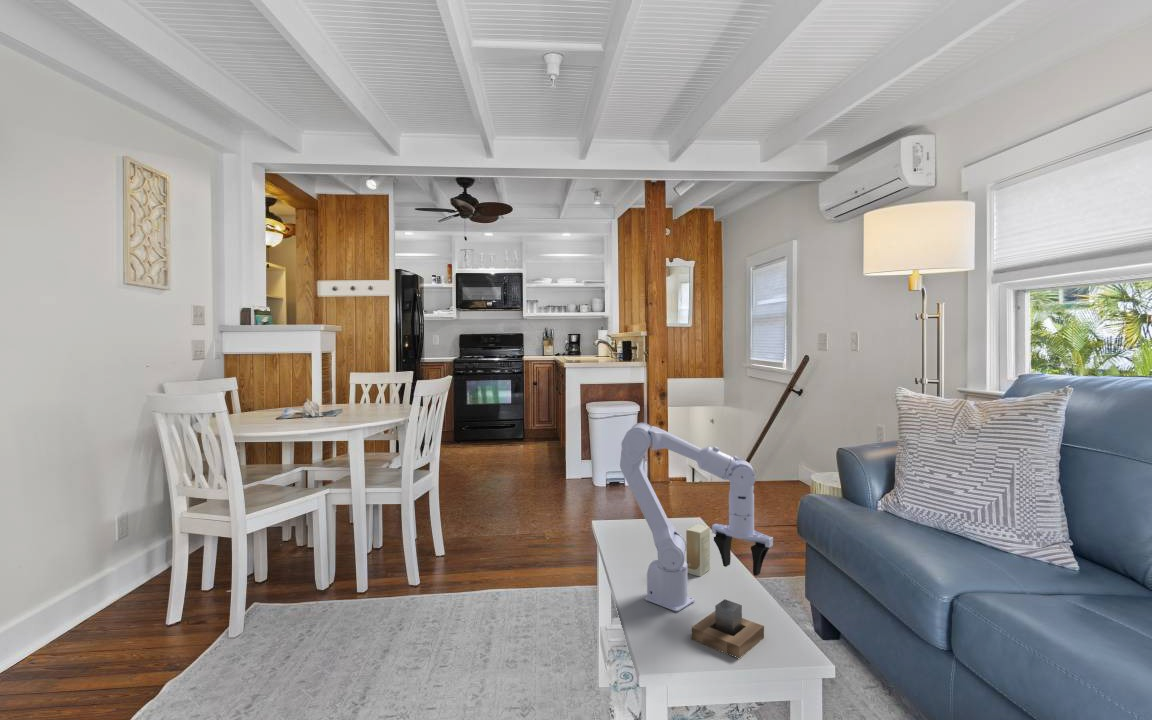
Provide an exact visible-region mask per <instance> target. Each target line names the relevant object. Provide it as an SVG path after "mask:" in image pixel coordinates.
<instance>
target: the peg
mask: <svg viewBox="0 0 1152 720" xmlns="http://www.w3.org/2000/svg"><path fill="white" fill-rule="evenodd" d="M714 607H715V608H714V609H715V610H714V611H715V629H716V630H718V631H721V632H723V633H726V634H728V635H731V636H735V635H736V634H737V633H738V632H740V631H741V630H742V618H743V605H742V604H739V603H737V602H734V601H731V600H728V599H726V598H725V599H723V600H721V601H720V602H719V603H717V604H716V605H714Z"/></svg>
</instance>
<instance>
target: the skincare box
mask: <svg viewBox="0 0 1152 720" xmlns="http://www.w3.org/2000/svg"><path fill="white" fill-rule="evenodd" d="M710 529H711V528H710V526H707V525H702V524H697V523H696V524H693V525H692V526H690V527H688V528H687V529H686V531H685V534H686V536H685V537H686V540H685V541H686V563H687V574H690V575H693V576H695V577H696V576H697V577H702V576H704V575H705V574H706V573H707V572H709V571H710V570H711V547H710V546H711V545H710V544H711V539H710V538H711V533H710V532H711V530H710Z"/></svg>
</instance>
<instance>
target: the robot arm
mask: <svg viewBox="0 0 1152 720" xmlns="http://www.w3.org/2000/svg"><path fill="white" fill-rule="evenodd" d="M620 445H621V449H620V450H621V451H620V452H621V453H620V462H619V467H620V468H619V469H620V470H621V473H622V475H623V476H624V479H625V481H626V482H627V484H628V486H629V489H630V490H631V493H632V495H633V496H634V500H635V501H636V503H637V504H638V508H639V509H640V511H641V513H642V515H643V517H644V519H645V522H646V524H647V525H648V527H649V529H650V531H651V533H652V538H653V543H654V546H655V548H656V551H657V559H655V560H653V561H652V562H650V563H649V565H648V568H647V572H646V596H645V598H644V599H645V601H647V602H650V603H654V604H655V605H657V606H660V607H663V608H666V609H669V610H670V611H673V612H676V613H678V612H679V611H682V609H685V608H686V607H687V606H690V605H691V604H692V603H694V602H695V598H693V597H691V596H688V595H689V594H688V592H689V591H688V590H689V589H688V587H689V586H688V585H689V584H688V583H689V582H688V573H687V560H685V559H686V558H685V553H686V552H687V550H686V540H685V537H684V536H683V535H681V534H680V533H679V532H678V531H677V530H676V527H675V526H674V525H673V524H672V523H671V522H670V520H669V519H668V516H667V515H666V512H665V510H664V508H663V506H662V504H661V502H660V500H659V498H658V496H657V494H656V492H655V490H654V488H653V486H652V484H651V481H650V480H649V478H648V476H647V474H646V472H645V470H644V468H643V466H642V462H643V460H644V457H645V454H646V452H647V451H648V449H649V448H650V446H651V451H657V450H663V449H666V450H668V451H671V452H674V453H676V454H677V455H680V456H684V457H685V458H688V459H690V460H692V461H693V460H694V461H695V462H696V463H697V464H696V465H697V466H698V468H699V470H700V469H701V470H703V471H704V472H707V473H709V474H711V475H713V476H715V477H718V478H720V479H722V480H726V481H727V480H728V481H729V492H728V525H727V524H720V523H714V524H712V525H711V534H713V535H715V536H713V541H714V543H715V545H716V546H717V549H718V551H719V554H720V556H721V561H722V566H723V567H725V568H726V567H728V566H730V565H731V549H732V540H733V539H738V540H741V541H745V542H750V543H753V545H752V546H750V551H751V556H752V574H753V576H755V577H758V576H759V575H760V574H761V571H762V566H763V563H764V560H765V558H766V555H767V553H768V552H769V550H770V549H771V547H773V546H774V537H773V536H769V535H767V534H764V533H761V532H759V531H756V530H755V493H754V490H755V487H754V485H755V482H756V479H757V478H756V475H755V472H754V468H753V466H752V465H751V463H750V462H748V461H746V460H745V459H744V458H739V456H737V455H734V456H731V455H729V454H727V453H724V452H722V451H720V448H719V447H718V446H715V445H714V446H713V447H711V446H705V447H703V448H702V447H698V446H697V445H695V444H693V443H690V442H689V441H686V440H685V439H682V438H681V437H679V436H677V435H675V434H672V433H671V432H668V431H667V430H665V429H662V428H660V427H658V426H655V425H652V426H651V425H650V424H649V423H646V422H638V423H637V422H636V424H634V425H633V426H632V427H631V428H630V429H629V430H627V432H626V434H625V435H624V437H623V439H622V441H621V444H620Z"/></svg>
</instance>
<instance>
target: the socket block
mask: <svg viewBox="0 0 1152 720" xmlns="http://www.w3.org/2000/svg"><path fill="white" fill-rule="evenodd" d="M690 630H691V631H690V632H691V634H690V635H691V640H693V641H696V642H698V643H700V644H703V645H705V646H708V647H709V648H712V649H715V650H717V651H719V650H720V652H721V651H723V652H722V653H724V652H725V653H724V654H726V653H728V654H727V655H729V654H731V655H733V656H736V657H738V658H740V657H741V656H742V655H743V654H745V653H746V652H747V651H748V650H749V651H750V650H752V649H753V648H754V647H755V646H756V645H757V644H758V643H760V642H761V641H762V640H764V638H765V625H762V624H759V623H756V622H754V621H752V620H749V619H745V618H744V617H742V630H741V631H740V632H738V633H737V634H736V635H735V636H731V635H728V634H726V633H723V632H721V631H718V630H716V629H715V610H714V611H713V612H711V613H710V614H708V615H707V616H705V617H704V618H703V619H701V620H699V621H698V622H697V623H696V624H694V625H693V626H691V629H690ZM760 640H761V641H760ZM759 641H760V642H759ZM753 646H754V647H753ZM752 647H753V648H752ZM749 651H748V652H749ZM748 652H747V653H748ZM747 653H746V654H747ZM746 654H745V655H746ZM731 655H730V656H731ZM733 656H732V657H733ZM743 656H744V655H743ZM743 656H742V657H743ZM736 657H735V658H736ZM742 657H741V658H742ZM738 658H737V659H738ZM741 658H740V659H741Z"/></svg>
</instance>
